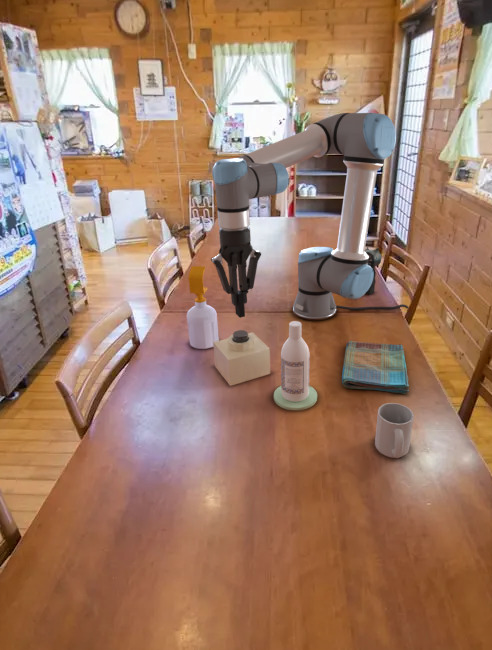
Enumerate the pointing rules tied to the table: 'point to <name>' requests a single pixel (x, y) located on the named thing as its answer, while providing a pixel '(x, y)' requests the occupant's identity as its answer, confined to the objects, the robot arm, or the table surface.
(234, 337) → the push button
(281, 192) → the robot arm
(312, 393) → the mat
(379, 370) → the dish towel
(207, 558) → the table surface
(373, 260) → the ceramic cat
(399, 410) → the cup
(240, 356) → the push button box
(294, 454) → the table surface
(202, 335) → the spray bottle
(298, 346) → the bath foam
